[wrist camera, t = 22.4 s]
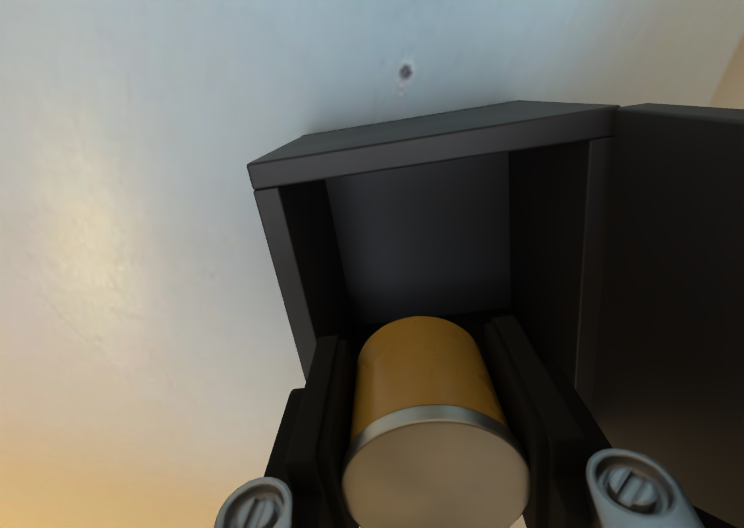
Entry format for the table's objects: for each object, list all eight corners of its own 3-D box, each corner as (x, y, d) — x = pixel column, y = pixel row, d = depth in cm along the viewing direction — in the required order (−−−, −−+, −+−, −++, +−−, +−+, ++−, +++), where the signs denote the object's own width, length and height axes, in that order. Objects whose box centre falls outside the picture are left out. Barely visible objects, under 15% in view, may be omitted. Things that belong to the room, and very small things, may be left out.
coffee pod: (483, 303, 10) (534, 410, 6) (489, 412, 11) (532, 545, 8) (342, 320, 10) (321, 430, 7) (364, 424, 11) (357, 557, 8)
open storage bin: (344, 330, 24) (324, 450, 16) (302, 135, 20) (244, 164, 11) (520, 310, 23) (593, 426, 15) (519, 100, 19) (623, 104, 10)
